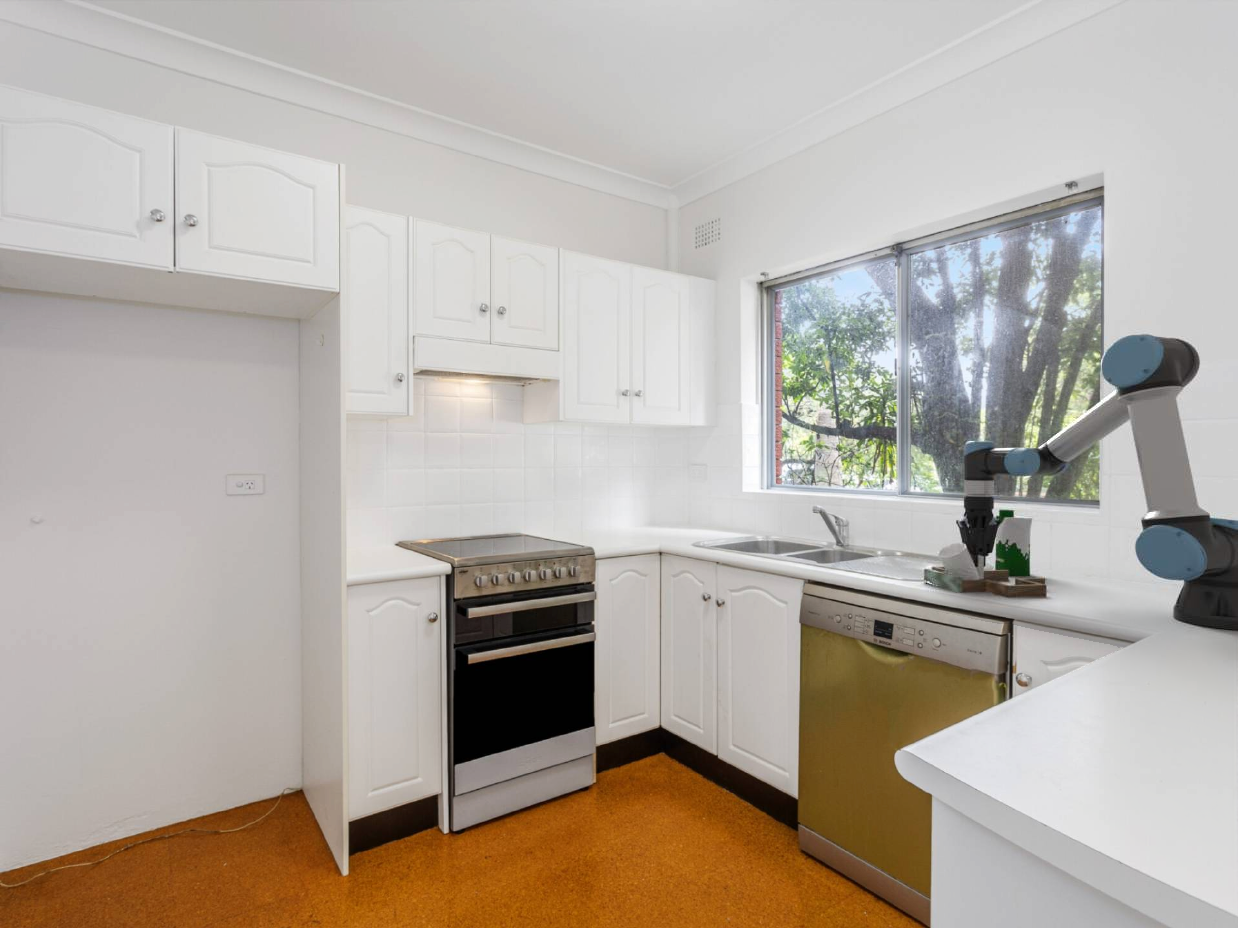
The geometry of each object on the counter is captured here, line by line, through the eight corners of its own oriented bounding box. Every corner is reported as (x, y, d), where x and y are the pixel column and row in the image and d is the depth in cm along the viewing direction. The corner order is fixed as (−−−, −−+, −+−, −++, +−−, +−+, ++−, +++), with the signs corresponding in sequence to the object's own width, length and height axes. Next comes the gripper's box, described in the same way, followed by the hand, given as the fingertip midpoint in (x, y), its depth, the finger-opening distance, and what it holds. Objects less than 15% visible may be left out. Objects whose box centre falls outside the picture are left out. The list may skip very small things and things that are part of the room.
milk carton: (990, 571, 215) (991, 509, 215) (1019, 571, 215) (1019, 509, 215) (1005, 576, 207) (1006, 511, 206) (1035, 576, 206) (1036, 511, 206)
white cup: (973, 570, 194) (958, 540, 193) (986, 578, 186) (971, 546, 185) (947, 582, 194) (932, 552, 193) (960, 591, 186) (944, 560, 186)
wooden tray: (1070, 595, 178) (1070, 580, 178) (979, 598, 173) (979, 583, 173) (985, 574, 208) (986, 562, 208) (906, 577, 203) (907, 564, 203)
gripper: (989, 494, 195) (988, 575, 196) (949, 494, 193) (948, 576, 193) (1008, 495, 188) (1007, 579, 188) (967, 496, 185) (966, 581, 186)
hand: (977, 578), depth 191 cm, fingers closed
